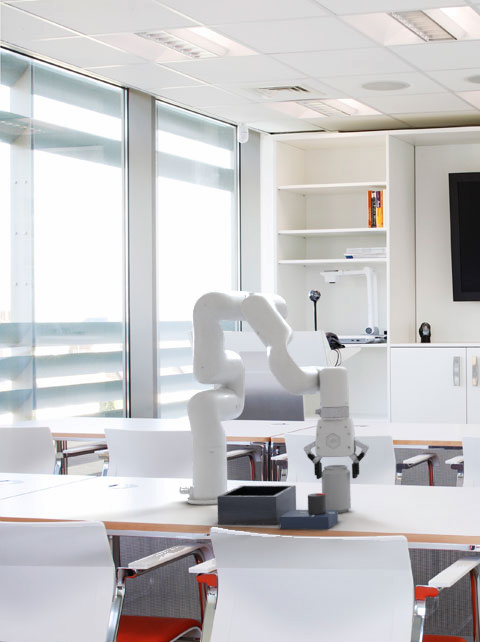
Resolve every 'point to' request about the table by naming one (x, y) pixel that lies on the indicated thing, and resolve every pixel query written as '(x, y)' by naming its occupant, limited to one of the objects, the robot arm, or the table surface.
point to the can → (336, 487)
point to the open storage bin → (255, 505)
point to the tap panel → (308, 520)
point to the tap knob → (317, 503)
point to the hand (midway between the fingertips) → (337, 478)
